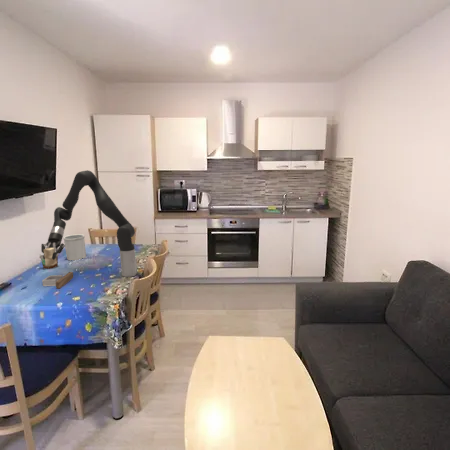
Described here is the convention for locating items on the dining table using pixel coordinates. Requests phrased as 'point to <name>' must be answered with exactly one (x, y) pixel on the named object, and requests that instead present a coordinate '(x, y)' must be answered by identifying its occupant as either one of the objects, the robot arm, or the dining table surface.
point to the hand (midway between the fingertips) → (48, 258)
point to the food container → (48, 266)
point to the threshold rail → (64, 280)
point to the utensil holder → (75, 246)
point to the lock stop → (49, 257)
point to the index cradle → (51, 280)
